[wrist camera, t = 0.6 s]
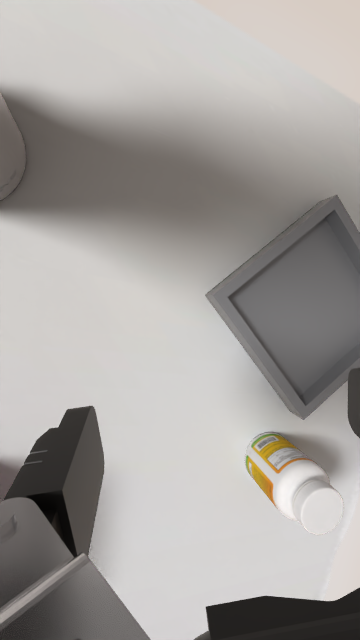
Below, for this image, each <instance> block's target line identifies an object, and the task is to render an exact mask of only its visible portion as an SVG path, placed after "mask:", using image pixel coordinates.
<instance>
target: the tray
mask: <svg viewBox="0 0 360 640" xmlns="http://www.w3.org/2000/svg"><path fill="white" fill-rule="evenodd" d="M205 296H206V297H207V299H208V300H209V301H210V303H211V304H212V305H213V307H214V308H215V310H216V311H217V312H218V314H219V315H220V316H221V318H222V319H223V320H224V322H225V323H226V325H227V326H228V327H229V329H230V330H231V331H232V333H233V334H234V335H235V337H236V338H237V340H238V341H239V342H240V344H241V345H242V346H243V348H244V349H245V350H246V352H247V353H248V354H249V356H250V357H251V359H252V360H253V361H254V363H255V364H256V365H257V367H258V368H259V369H260V371H261V372H262V374H263V375H264V376H265V378H266V379H267V380H268V382H269V383H270V384H271V386H272V387H273V389H274V390H275V391H276V393H277V394H278V395H279V397H280V398H281V399H282V401H283V402H284V404H285V405H286V406H287V408H288V409H289V410H290V412H292V413H294V414H295V415H297V416H298V417H300V418H301V419H303V420H304V419H305V418H306V417H308V416H309V415H310V414H311V413H312V412H313V411H314V410H315V409H316V408H317V407H319V406H320V405H321V404H322V403H323V402H324V401H325V400H326V399H327V398H328V397H329V396H331V395H332V394H333V393H334V392H335V391H336V390H337V389H338V388H339V387H340V386H342V385H343V384H344V383H345V382H346V381H347V380H348V375H349V372H350V370H351V369H354V368H360V233H359V231H358V230H357V228H356V226H355V225H354V223H353V221H352V219H351V218H350V216H349V214H348V213H347V211H346V209H345V208H344V206H343V204H342V202H341V201H340V199H339V197H338V196H337V195H335V196H333V197H330V198H328V199H325V200H323V201H321V202H319V203H318V204H317V205H316V206H314V207H313V208H312V209H311V210H309V211H308V212H307V213H306V214H305V215H303V216H302V217H301V218H300V219H298V220H297V221H296V222H295V223H293V224H292V225H291V226H290V227H288V228H287V229H286V230H285V231H284V232H282V233H281V234H280V235H279V236H277V237H276V238H275V239H274V240H272V241H271V242H270V243H269V244H267V245H266V246H265V247H264V248H262V249H261V250H260V251H259V252H258V253H256V254H255V255H254V256H253V257H251V258H250V259H249V260H248V261H246V262H245V263H244V264H243V265H241V266H240V267H239V268H238V269H236V270H235V271H234V272H233V273H232V274H230V275H229V276H228V277H227V278H225V279H224V280H223V281H222V282H220V283H219V284H218V285H217V286H215V287H214V288H213V289H212V290H211V291H209V292H208V293H207V294H206V295H205Z"/></svg>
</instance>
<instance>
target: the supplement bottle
mask: <svg viewBox="0 0 360 640" xmlns="http://www.w3.org/2000/svg"><path fill="white" fill-rule="evenodd" d="M245 466H246V469H247V471H248V473H249V474H250V475H251V477H252V478H253V479H254V480H255V482H256V483H257V484H258V485H259V487H260V488H261V489H262V490H263V491H264V493H265V494H266V495H267V496H268V498H269V499H270V500H271V501H272V503H273V504H274V505H275V506H276V508H277V509H278V510H279V511H280V512H281V513H282V514H283V515H284V516H285V517H287V518H288V519H291V520H293V521H298V522H299V523H300V524H301V525H302V526H303V527H304V528H305V529H306V530H307V531H308V532H310V533H312V534H315V535H323V534H326V533H328V532H330V531H332V530H333V529H334V528H335V527H336V526H337V525H338V524H339V522H340V520H341V518H342V516H343V512H344V502H343V499H342V497H341V495H340V494H339V493H338V491H336V490H335V489H334V488H333V487H332V486H331V485H330V481H329V478H328V476H327V474H326V472H325V471H324V470H323V469H322V468H321V467H320V466H319V465H318V464H317V463H315V462H314V461H313V460H311V459H310V458H309V457H308V456H306V455H305V454H304V453H303V452H301V451H300V450H299V449H298V448H296V447H295V446H294V445H293V444H291V443H290V442H289V441H288V440H286V439H285V438H284V437H282V436H281V435H279V434H277V433H272V432H269V433H263V434H260V435H258V436H257V437H255V438H254V439H253V440H252V441H251V442H250V444H249V445H248V447H247V449H246V452H245Z"/></svg>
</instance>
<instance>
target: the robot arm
mask: <svg viewBox="0 0 360 640" xmlns="http://www.w3.org/2000/svg"><path fill="white" fill-rule="evenodd" d="M25 164H26V149H25V144H24V141H23V137H22V135H21V133H20V131H19V129H18V127H17V125H16V123H15V121H14V119H13V117H12V115H11V113H10V111H9V109H8V106H7V104H6V102H5V100H4V98H3V96H2V94H1V93H0V200H2V199H4V198H6V197H7V196H8V195H9V194H10V193H11V192H12V191H14V189H15V188H16V186H17V185H18V184H19V182H20V181H21V178H22V176H23V173H24V171H25ZM348 419H349V423H350V426H351V428H352V430H353V431H354V433H355V434H356V435H357V436H358V437H359V438H360V368H354V369H351V370H350V372H349V375H348ZM103 474H104V454H103V448H102V443H101V437H100V432H99V427H98V422H97V417H96V412H95V409H94V407H93V406H87V407H80V408H73V409H68V410H67V411H66V413H65V415H64V417H63V419H62V421H61V423H60V425H59V427H58V428H51V429H49V430H48V431H47V432H46V433H44V434H43V435H42V436H41V437H40V438H39V439H38V440H37V441H36V443H35V444H34V446H33V448H32V450H31V452H30V455H28V457H27V459H26V461H25V462H24V466H22V468H21V470H20V471H19V473H18V475H17V477H16V479H15V480H14V482H13V484H12V486H11V488H10V489H9V491H8V493H7V495H6V497H5V498H4V500H3V501H1V502H0V640H150V638H149V637H148V636H147V634H146V633H145V632H144V630H143V629H142V628H141V626H140V625H139V624H138V622H137V621H136V620H135V618H134V617H133V616H132V614H131V613H130V612H129V610H128V609H127V608H126V606H125V605H124V604H123V602H122V601H121V600H120V598H119V597H118V596H117V594H116V593H115V592H114V591H113V589H112V588H111V587H110V585H109V584H108V583H107V581H106V580H105V579H104V577H103V576H102V575H101V573H100V572H99V571H98V569H97V568H96V567H95V565H94V564H93V563H92V561H91V560H90V559H89V558H88V552H89V547H90V542H91V537H92V532H93V526H94V521H95V516H96V511H97V505H98V500H99V495H100V490H101V485H102V479H103ZM206 612H207V621H208V629H209V631H207V632H205V633H204V634H202V635H200V636H198V637H197V638H195V639H194V640H360V588H358V589H356V590H355V591H353V592H351V593H349V594H347V595H346V596H344V597H342V598H340V599H338V600H336V601H318V600H307V599H296V598H284V597H273V596H261V597H256V598H250V599H245V600H240V601H234V602H229V603H223V604H218V605H212V606H207V607H206Z"/></svg>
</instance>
